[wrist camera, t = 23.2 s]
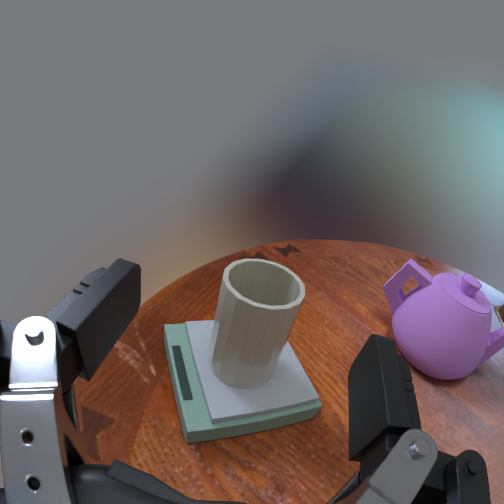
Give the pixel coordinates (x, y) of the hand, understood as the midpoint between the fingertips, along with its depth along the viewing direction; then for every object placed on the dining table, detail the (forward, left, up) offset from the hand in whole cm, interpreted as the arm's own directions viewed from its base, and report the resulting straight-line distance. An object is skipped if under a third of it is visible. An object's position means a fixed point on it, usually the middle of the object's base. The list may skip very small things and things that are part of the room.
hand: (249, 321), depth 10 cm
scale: (+6, +9, -18) cm, 21 cm away
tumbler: (+6, +9, -15) cm, 18 cm away
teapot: (+35, +7, -18) cm, 40 cm away
